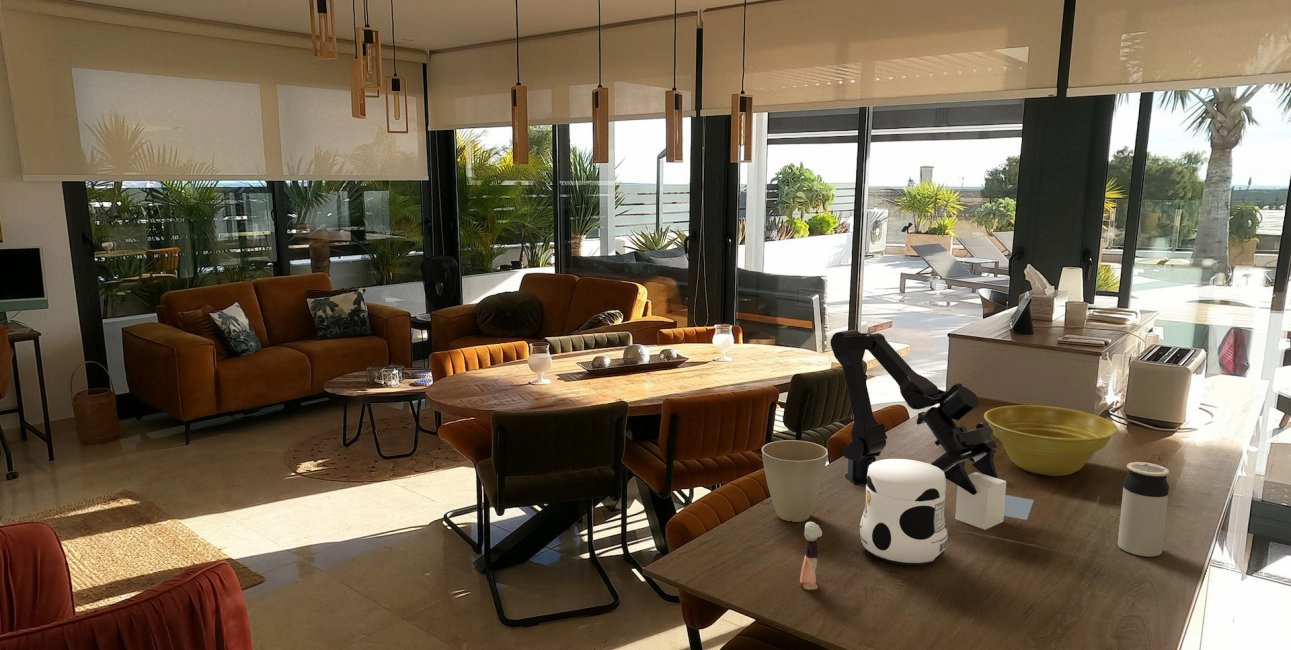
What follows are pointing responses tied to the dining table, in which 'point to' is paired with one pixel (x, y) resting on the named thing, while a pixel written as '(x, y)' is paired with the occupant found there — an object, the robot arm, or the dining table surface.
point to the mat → (1017, 507)
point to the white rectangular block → (982, 502)
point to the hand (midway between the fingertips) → (986, 489)
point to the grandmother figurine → (810, 556)
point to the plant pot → (794, 476)
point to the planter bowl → (1049, 437)
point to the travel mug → (1143, 509)
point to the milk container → (904, 512)
